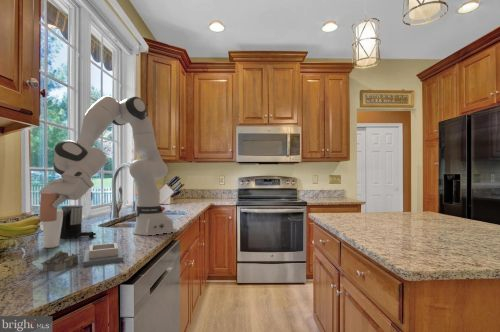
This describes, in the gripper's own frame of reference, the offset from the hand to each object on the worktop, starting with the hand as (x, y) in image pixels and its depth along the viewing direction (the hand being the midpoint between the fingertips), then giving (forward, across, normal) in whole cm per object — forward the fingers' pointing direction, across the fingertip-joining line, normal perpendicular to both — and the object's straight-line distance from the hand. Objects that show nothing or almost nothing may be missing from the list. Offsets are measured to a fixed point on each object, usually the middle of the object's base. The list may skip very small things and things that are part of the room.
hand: (47, 206), depth 98 cm
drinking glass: (+6, -14, +21) cm, 25 cm away
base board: (+6, +18, +20) cm, 28 cm away
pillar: (+3, 0, +4) cm, 5 cm away
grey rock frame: (+15, +13, +12) cm, 24 cm away
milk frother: (-6, -21, +32) cm, 39 cm away
